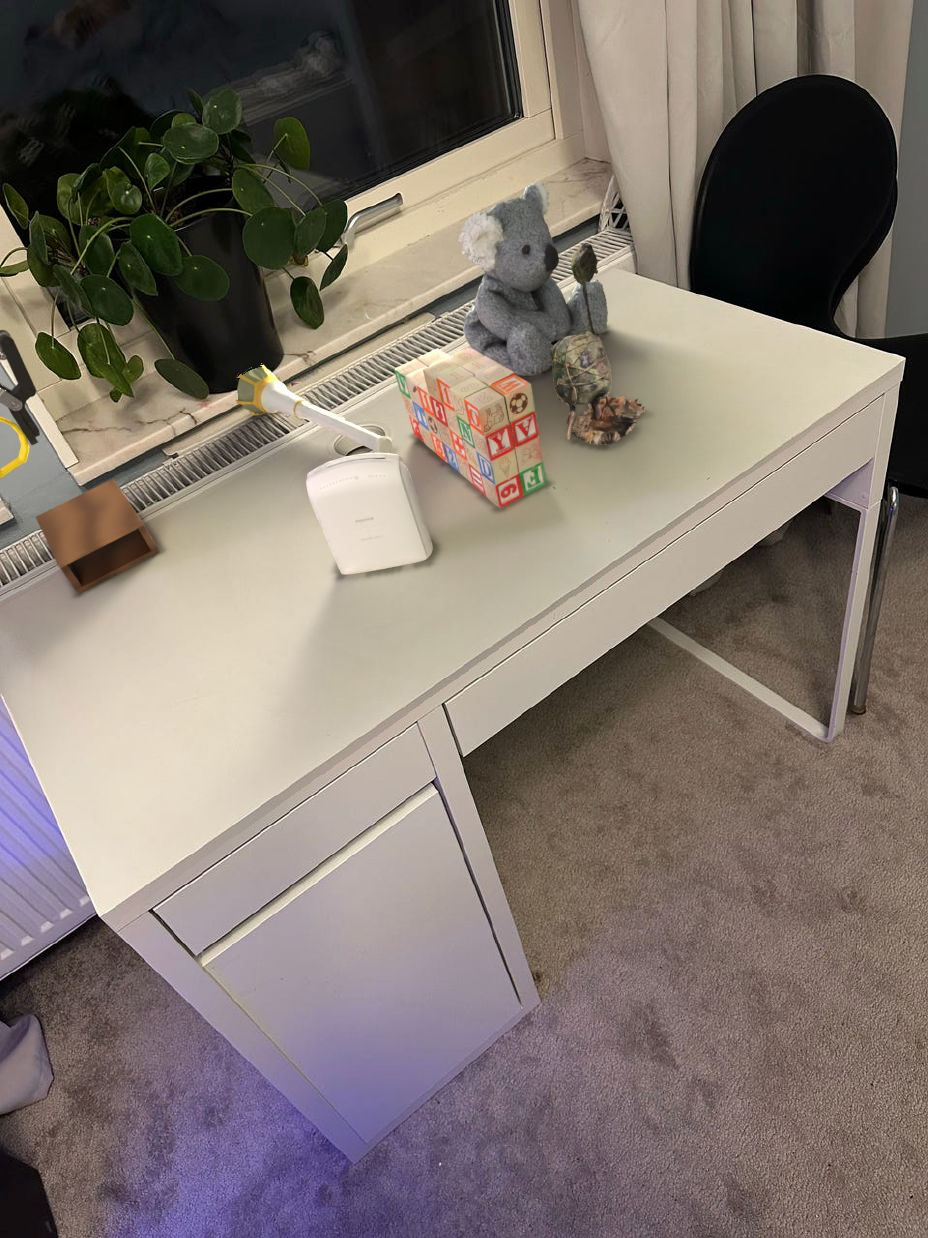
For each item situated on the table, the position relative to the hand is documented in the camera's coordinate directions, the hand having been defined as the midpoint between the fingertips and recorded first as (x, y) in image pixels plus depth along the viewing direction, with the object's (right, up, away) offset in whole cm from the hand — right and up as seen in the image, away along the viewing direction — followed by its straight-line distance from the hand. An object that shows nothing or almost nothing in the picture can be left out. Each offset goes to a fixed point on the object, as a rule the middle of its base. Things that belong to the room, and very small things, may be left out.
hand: (0, 456), depth 84 cm
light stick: (+26, +9, +28) cm, 39 cm away
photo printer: (+38, -10, +4) cm, 40 cm away
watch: (0, -1, +1) cm, 2 cm away
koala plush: (+55, +22, +33) cm, 68 cm away
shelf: (+3, -8, +17) cm, 19 cm away
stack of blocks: (+48, +2, +14) cm, 50 cm away
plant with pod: (+62, +6, +13) cm, 64 cm away
